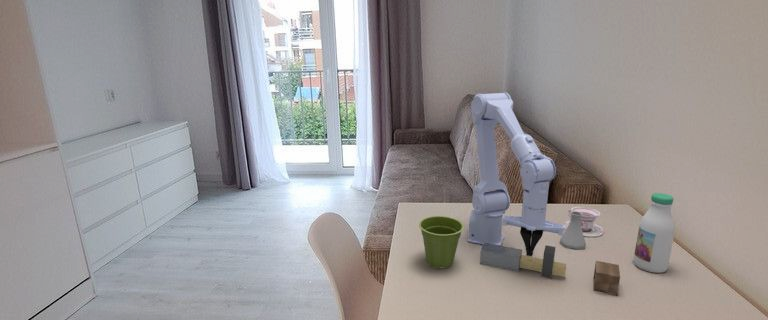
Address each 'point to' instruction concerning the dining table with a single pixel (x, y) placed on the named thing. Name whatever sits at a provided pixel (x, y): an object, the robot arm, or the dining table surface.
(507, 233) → the dining table surface
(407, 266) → the dining table surface
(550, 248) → the grey-banded wooden bar
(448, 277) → the dining table surface
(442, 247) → the plant pot
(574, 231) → the flask
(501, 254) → the sleeve
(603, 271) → the socket
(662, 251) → the milk bottle
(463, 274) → the dining table surface
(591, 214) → the teacup
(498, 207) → the robot arm
